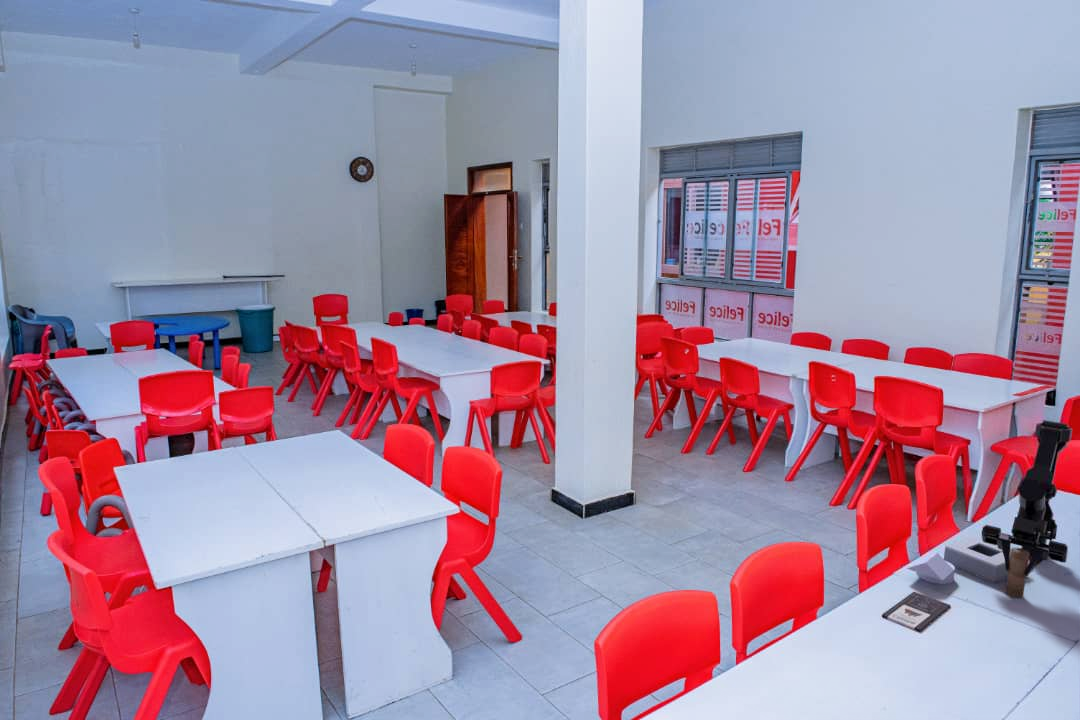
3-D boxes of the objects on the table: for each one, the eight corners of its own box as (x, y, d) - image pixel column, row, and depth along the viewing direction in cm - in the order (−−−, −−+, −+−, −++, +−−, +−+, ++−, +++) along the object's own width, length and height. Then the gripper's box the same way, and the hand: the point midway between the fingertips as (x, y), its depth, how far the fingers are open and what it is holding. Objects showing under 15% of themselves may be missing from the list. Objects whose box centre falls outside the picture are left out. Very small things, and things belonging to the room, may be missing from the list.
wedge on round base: (941, 592, 198) (958, 576, 207) (944, 568, 197) (961, 553, 206) (905, 580, 205) (923, 565, 214) (907, 556, 203) (926, 542, 212)
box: (971, 551, 223) (973, 535, 222) (1021, 571, 211) (1024, 554, 210) (943, 562, 215) (945, 545, 214) (994, 583, 204) (996, 565, 203)
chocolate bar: (950, 605, 191) (920, 629, 179) (950, 608, 191) (919, 633, 179) (913, 591, 197) (882, 614, 186) (913, 594, 198) (881, 618, 186)
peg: (1009, 589, 200) (1016, 546, 198) (1025, 596, 197) (1032, 552, 195) (1001, 593, 198) (1008, 549, 196) (1017, 600, 195) (1024, 556, 193)
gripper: (987, 495, 202) (973, 548, 196) (1073, 514, 190) (1060, 571, 184) (989, 515, 210) (976, 566, 203) (1072, 534, 198) (1059, 589, 192)
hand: (1016, 572), depth 195 cm, fingers closed on peg, 4 cm apart
